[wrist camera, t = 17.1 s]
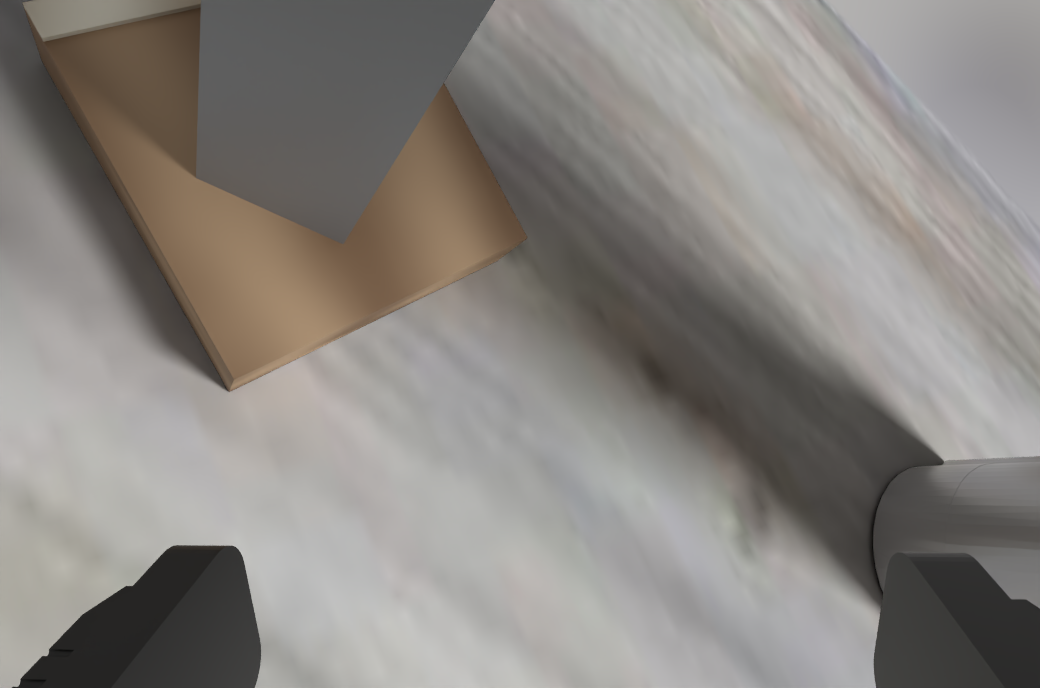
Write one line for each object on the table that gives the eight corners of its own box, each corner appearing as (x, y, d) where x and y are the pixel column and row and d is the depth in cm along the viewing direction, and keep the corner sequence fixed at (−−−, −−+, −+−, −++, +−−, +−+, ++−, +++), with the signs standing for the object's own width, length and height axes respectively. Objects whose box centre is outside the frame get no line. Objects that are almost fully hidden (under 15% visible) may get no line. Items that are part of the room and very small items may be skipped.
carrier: (343, 244, 24) (521, -43, 11) (195, 177, 22) (208, -248, 10) (400, 106, 26) (608, -271, 13) (268, 36, 24) (360, -475, 12)
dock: (350, -10, 29) (367, -64, 27) (497, 260, 30) (530, 236, 27) (41, 60, 24) (22, 2, 21) (229, 392, 24) (234, 378, 22)
